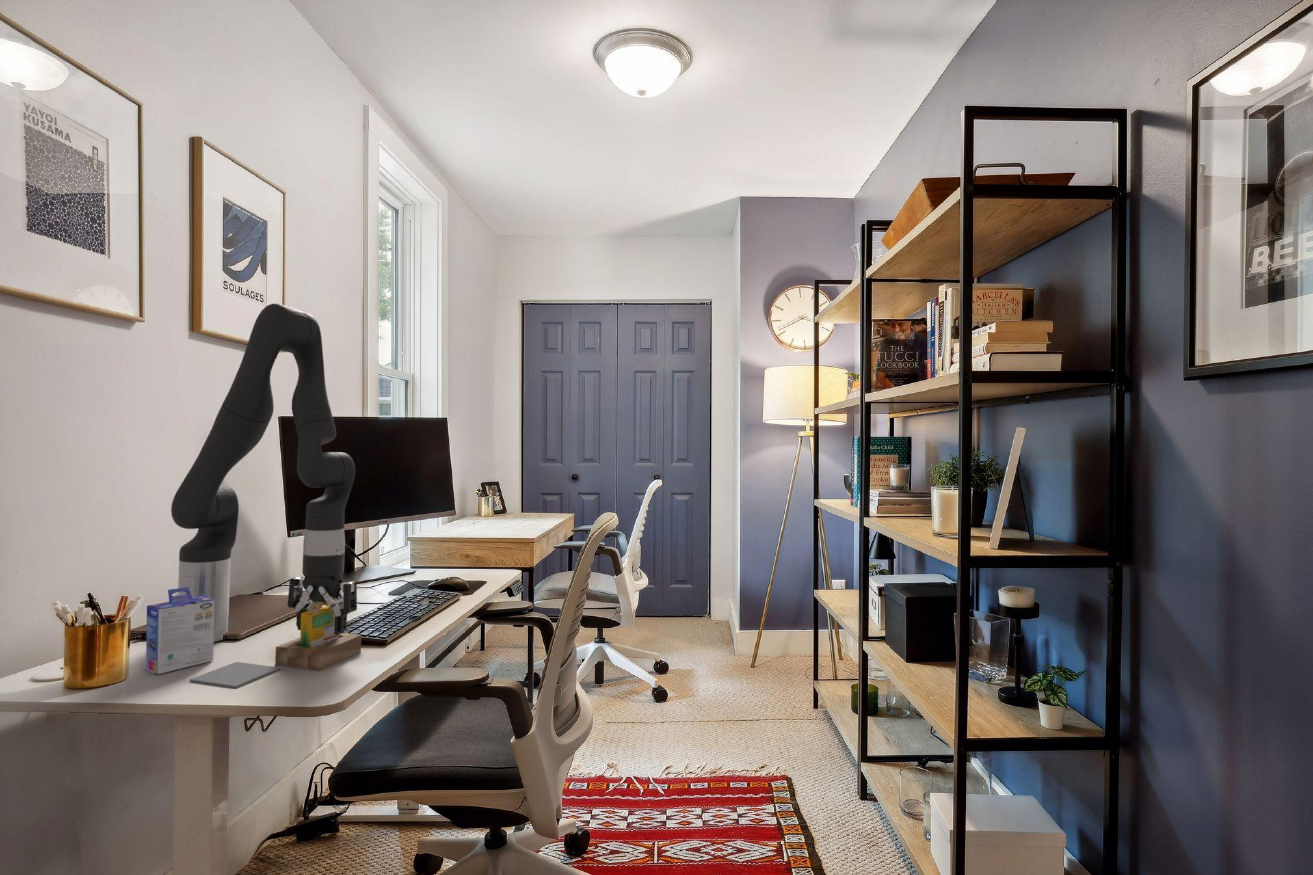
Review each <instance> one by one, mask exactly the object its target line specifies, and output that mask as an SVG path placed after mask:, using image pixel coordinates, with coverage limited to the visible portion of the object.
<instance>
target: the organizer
mask: <svg viewBox="0 0 1313 875" xmlns="http://www.w3.org/2000/svg"><path fill="white" fill-rule="evenodd" d="M361 650H362V634H358V633H349V632H344V633H342V634H339V638H338V639H335V640H333V641H330V642H328V643H326V644H323V645H321V646H318V647H316V648H310V647H302V646H300V637H298V638H296V639H293V640H290V641H287V642H284V643H281V644H280V645H279V644H278V645H276V646H275V659H274V665H275V666H284V667H288V668H289V667H290V668H299V669H305V670H312V669H313V670H314V671H322V670H324V669H325V668H328V667H331V666H332V665H334V664H337V663H339V662H341V661H344V660H346V659H348V658H350V657H353V656H354V655H356V654H359V653H360V652H361ZM321 669H322V670H321Z"/></svg>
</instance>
